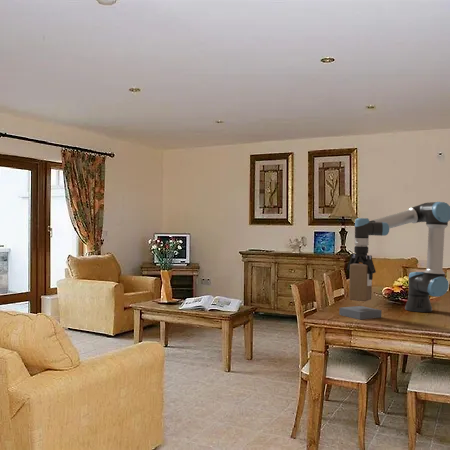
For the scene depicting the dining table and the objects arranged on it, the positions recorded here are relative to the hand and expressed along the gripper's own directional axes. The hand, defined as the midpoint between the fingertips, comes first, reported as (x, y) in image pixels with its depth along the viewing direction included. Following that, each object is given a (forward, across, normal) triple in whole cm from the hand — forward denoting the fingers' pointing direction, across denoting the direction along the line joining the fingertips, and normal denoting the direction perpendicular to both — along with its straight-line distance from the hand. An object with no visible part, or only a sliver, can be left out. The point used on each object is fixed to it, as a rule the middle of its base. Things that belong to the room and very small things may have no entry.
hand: (360, 284), depth 290 cm
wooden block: (+9, 0, 0) cm, 9 cm away
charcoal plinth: (+18, 0, 0) cm, 18 cm away
